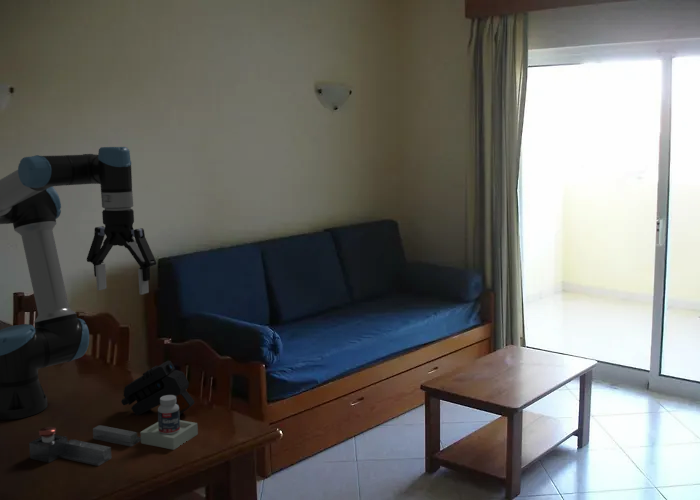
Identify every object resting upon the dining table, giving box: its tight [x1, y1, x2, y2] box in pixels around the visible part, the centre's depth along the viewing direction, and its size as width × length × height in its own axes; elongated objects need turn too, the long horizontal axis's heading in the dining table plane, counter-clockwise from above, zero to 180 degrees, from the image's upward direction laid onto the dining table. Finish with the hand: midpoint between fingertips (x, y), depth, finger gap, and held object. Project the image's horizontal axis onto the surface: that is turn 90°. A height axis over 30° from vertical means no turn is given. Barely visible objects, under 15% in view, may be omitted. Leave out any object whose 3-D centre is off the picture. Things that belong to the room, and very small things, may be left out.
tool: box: [120, 360, 195, 416], centre depth 199 cm, size 6×19×15 cm, turn 78°
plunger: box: [38, 426, 57, 444], centre depth 173 cm, size 4×4×6 cm
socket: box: [58, 424, 141, 467], centre depth 177 cm, size 12×16×3 cm
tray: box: [139, 419, 199, 451], centre depth 182 cm, size 10×10×3 cm
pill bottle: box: [157, 395, 181, 435], centre depth 182 cm, size 5×5×9 cm
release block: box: [28, 433, 69, 464], centre depth 173 cm, size 6×6×4 cm
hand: (122, 291), depth 184 cm, fingers open, 13 cm apart
